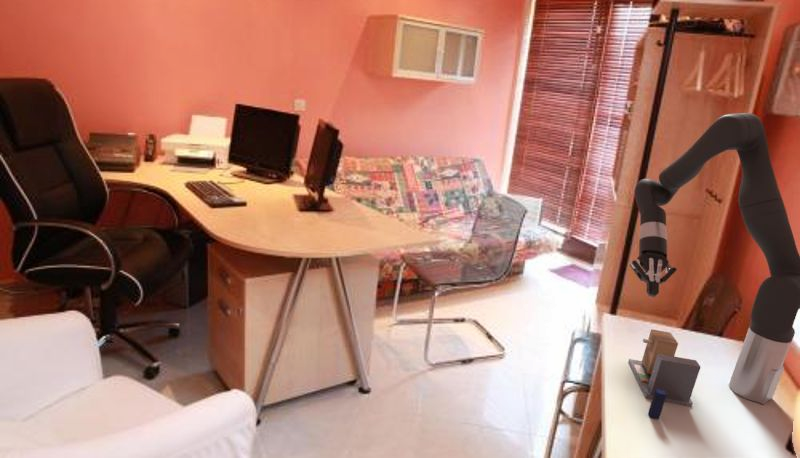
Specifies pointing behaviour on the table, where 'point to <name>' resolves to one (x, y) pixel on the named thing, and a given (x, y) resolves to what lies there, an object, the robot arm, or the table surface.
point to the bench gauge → (668, 378)
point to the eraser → (657, 404)
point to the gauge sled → (658, 347)
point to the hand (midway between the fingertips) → (652, 295)
